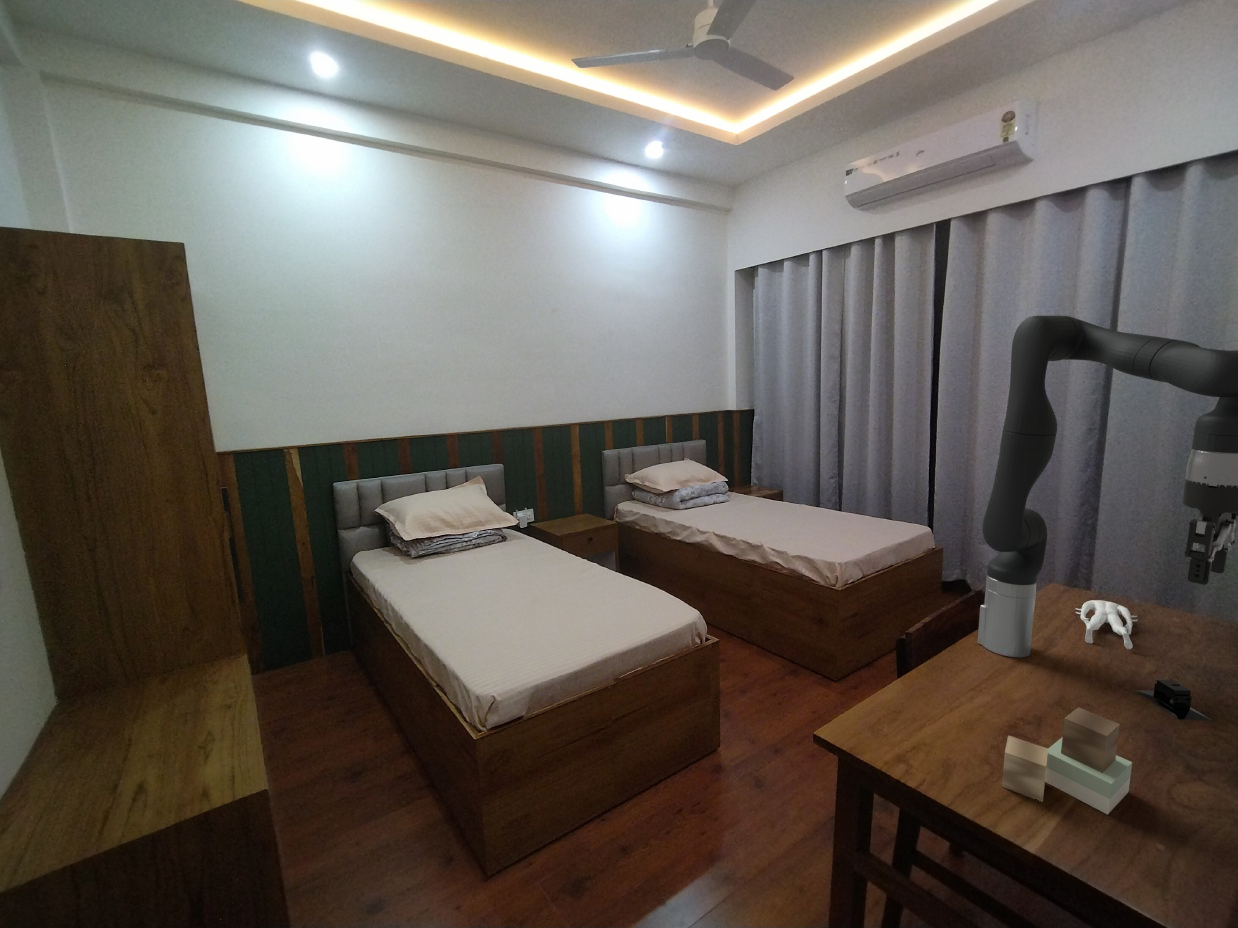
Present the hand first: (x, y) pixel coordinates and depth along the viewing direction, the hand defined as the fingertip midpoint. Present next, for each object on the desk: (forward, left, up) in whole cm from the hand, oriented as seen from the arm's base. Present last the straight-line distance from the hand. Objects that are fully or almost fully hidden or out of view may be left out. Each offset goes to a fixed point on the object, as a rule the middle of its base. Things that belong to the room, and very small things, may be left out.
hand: (1206, 577), depth 85 cm
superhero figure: (-23, +43, -31) cm, 58 cm away
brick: (-10, -32, -30) cm, 45 cm away
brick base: (-5, -25, -30) cm, 39 cm away
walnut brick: (-5, -25, -25) cm, 36 cm away
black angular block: (-5, +14, -31) cm, 34 cm away
